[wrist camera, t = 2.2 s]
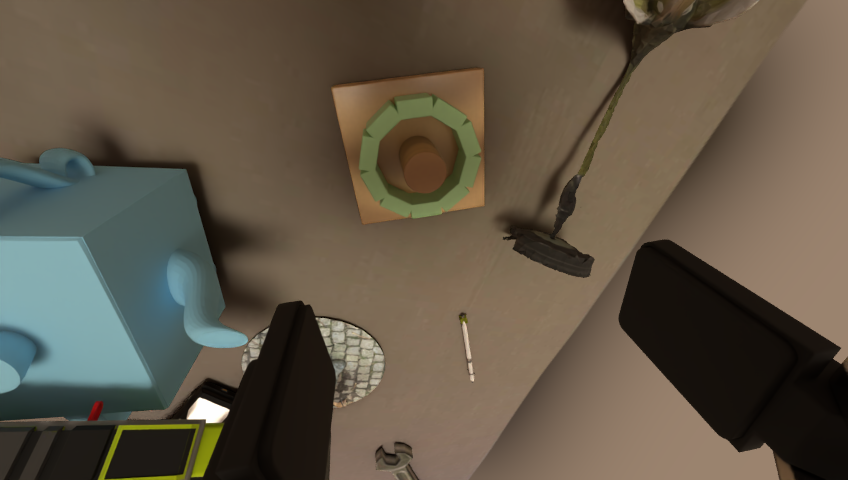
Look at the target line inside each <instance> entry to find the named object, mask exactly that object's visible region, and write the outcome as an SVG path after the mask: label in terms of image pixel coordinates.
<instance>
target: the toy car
mask: <svg viewBox="0 0 848 480" xmlns="http://www.w3.org/2000/svg"><path fill="white" fill-rule="evenodd" d="M235 395H236V393H233V392H231V391H229V390H227V389H224V388H222V387H220V386H217V385H215V384H212V383H210V382H205V383H204V384H203V385H202V386H201V387H200V388H199V389H198V390H197V389H195V390H194V391H193V392H192V393H191V395H190V396H189V398H188V399H187V401H186V402H185V404H184V405H183V406H182V407H181V408H180V410H179V411H178V412H177V413H176V414H175V415H174V416H173V417H172V419H171V420H173V419H207V420H206V423H224V422H225V420H226V418H227V415H228V413H229V410H230V408H231V405H232V403H233V400H234V398H235Z"/></svg>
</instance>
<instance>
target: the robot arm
mask: <svg viewBox="0 0 848 480" xmlns="http://www.w3.org/2000/svg"><path fill="white" fill-rule="evenodd" d="M619 323H620V325H621V328H622V329H623V330H624V331H625V332H626V333H627V335H628V336H629V337H630V338H631V339H632V340H633V341H634V342H635V343H636V344H637V346H638V347H639V348H640V349H641V350H642V351H643V352H644V353H645V354H646V356H648V358H649V359H650V360H651V361H652V362H653V363H654V364H655V366H656V367H657V368H658V369H659V370H660V371H661V372H662V373H663V374H664V376H665V377H666V378H667V379H668V380H669V381H670V382H671V383H672V384H673V385H674V387H675V388H676V389H677V390H678V391H679V392H680V393H681V394H682V395H683V397H684V398H685V399H686V400H687V401H688V402H689V403H690V404H691V405H692V406H693V408H694V409H695V410H696V411H697V412H698V413H699V414H700V415H701V416H702V418H703V419H704V420H705V421H706V422H707V423H708V424H709V425H710V426H711V427H712V429H713V430H714V431H715V432H716V433H717V434H718V435H719V436H721V437H722V438H725V439H727V440H728V441H729V442H730V443H731V444H732V445H733V446H734V447H735V448H736V449H737V450H738V452H743V451H748V450H752V449H757V448H760V447H761V446H762V445H763V443H766V444H767V445H768V446H769V447H770V448H771V449H772V450H773V454H774V458H775V463H776V467H777V471H778V475H779V479H780V480H848V357H847V358H846V359H845V360H844V361H843V363H842V364H840V363H838V362H837V361H835V360H834V359H833V358H834V356H835V355H836V354H837V353H838V352H839V350H840V349H841V348H840V347H839V346H837V345H836V344H834V343H832V342H831V341H829V340H828V339H826V338H824V337H823V336H821V335H819V334H818V333H816V332H815V331H813V330H812V329H810V328H809V327H807V326H805V325H804V324H802V323H801V322H799V321H798V320H796V319H794V318H793V317H791V316H790V315H788V314H786V313H785V312H783V311H782V310H780V309H778V308H777V307H775V306H774V305H772V304H771V303H769V302H767V301H766V300H764V299H763V298H761V297H759V296H758V295H756V294H755V293H753V292H751V291H750V290H748V289H747V288H745V287H744V286H742V285H740V284H739V283H737V282H736V281H734V280H732V279H731V278H729V277H728V276H726V275H724V274H723V273H721V272H720V271H718V270H717V269H715V268H713V267H712V266H710V265H709V264H707V263H706V262H704V261H702V260H701V259H699V258H698V257H696V256H694V255H693V254H691V253H690V252H688V251H687V250H685V249H683V248H682V247H680V246H679V245H677V244H675V243H674V242H672V241H670V240H659V241H653V242H647V243H644V244H643V245H642V246H641V248H640V249H639V250H638V251H637V253H636V256H635V260H634V264H633V267H632V270H631V274H630V278H629V281H628V285H627V288H626V292H625V295H624V299H623V303H622V306H621V310H620V313H619ZM335 385H336V373H335V369H334V366H333V363H332V360H331V358H330V355H329V352H328V350H327V347H326V344H325V342H324V339H323V336H322V334H321V331H320V328H319V325H318V323H317V320H316V317H315V315H314V312H313V309H312V307H311V306H310V305H304V303H303V302H302V301H295V302H289V303H283V304H279V305H278V306H277V308H276V311H275V313H274V316H273V319H272V321H271V324H270V327H269V329H268V332H267V335H266V337H265V340H264V343H263V345H262V348H261V351H260V353H259V356H258V359H255V360H252V361H251V362H250V363H249V364H248V366H247V368H246V370H245V373H244V375H243V378H242V380H241V383H240V385H239V388H238V390H237V393H236V395H235V398H234V400H233V403H232V405H231V408H230V410H229V413H228V415H227V418H226V420H225V423H224V425H223V428H222V430H221V433H220V435H219V438H218V440H217V443H216V445H215V448H214V450H213V453H212V455H211V458H210V460H209V463H208V465H207V468H206V470H205V473H204V475H203V478H202V480H325V475H326V466H327V457H328V448H329V439H330V430H331V421H332V412H333V403H334V394H335Z"/></svg>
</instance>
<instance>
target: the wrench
mask: <svg viewBox="0 0 848 480" xmlns="http://www.w3.org/2000/svg"><path fill="white" fill-rule="evenodd" d="M394 447H395V453H396V455H395V456H391V455H385V453H384V451H383V449H382V448H381V449H380V450H379V451H378V452H377V453H376V470H381V471H388V472H392V474H393V475H394V477H395V478H396V479H397V480H418V479H417V477H416V475H415V474H414V472H413V471H412V469H411V467H410V466H409V464H408V463H409V462H410V461H411V459H412V458H413V456H412V448H410V447H408V446H407V445H405V444H396V443H394Z"/></svg>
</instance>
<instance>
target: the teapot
mask: <svg viewBox="0 0 848 480" xmlns="http://www.w3.org/2000/svg"><path fill="white" fill-rule="evenodd" d="M224 308H225V302H224V299H223V295H222V292H221V288H220V285H219V281H218V278H217V274H216V267H215V265H214V263H213V260H212V256H211V253H210V249H209V246H208V242H207V239H206V235H205V232H204V228H203V225H202V222H201V218H200V215H199V211H198V208H197V199H196V197H195V195H194V194H193V190H192V187H191V183H190V180H189V177H188V173H187V170H186V169H170V168H142V167H115V166H93V165H92V163H91V162H90V160H89V159H88V158H87V157H86V156H85V155H83V154H81V153H79V152H77V151H74V150H70V149H64V148H55V149H50V150H46V151H45V152H43V153H42V154H41V156H40V158H39V164H34V163H21V162H18V161H14V160H10V159H5V158H0V421H5V420H20V419H35V418H50V417H64V418H66V419H67V420H69V421H87V420H88V418H89V415H90V413H91V411H92V408H93V406H94V404H95V402H96V401H103V409H102V411H101V414H100V416H99V418H98V421H105V420H127V419H128V417H129V415H130V414H131V412H132V411H144V410H164V409H166V408H168V407H169V406H170V404H171V402H172V400H173V399H174V397H175V395H176V393H177V392H178V390H179V388H180V386H181V385H182V383H183V381H184V379H185V377H186V376H187V374H188V372H189V370H190V369H191V367H192V365H193V363H194V362H195V360H196V358H197V356H198V354H199V353H200V351H201V349H202V347H203V346H208V347H215V348H232V347H238V346H242V345H244V344H246V343H247V342H248V338H247V336H246V335H244V334H243V333H241V332H239V331H237V330H234V329H231V328H229V327H227V326H225V325H223V324H222V323H221V322H220V321H219V320H218V319H219V317H220V316H221V314H222V312H223V310H224Z"/></svg>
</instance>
